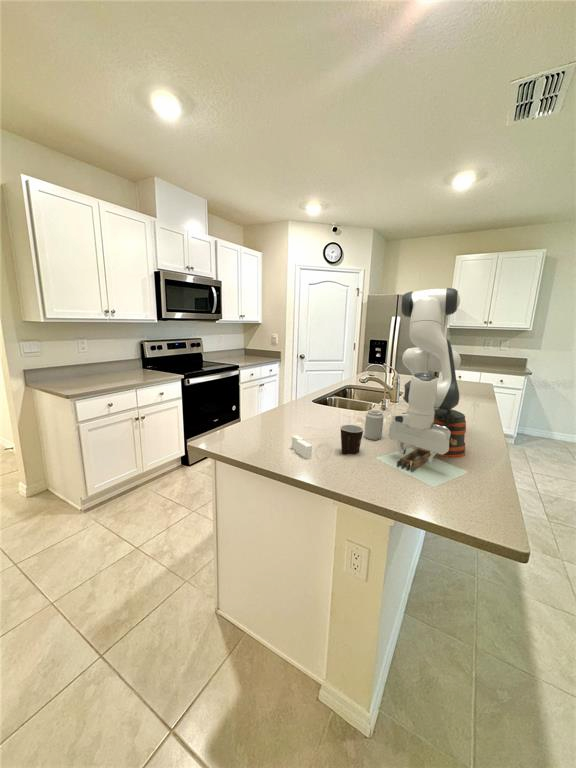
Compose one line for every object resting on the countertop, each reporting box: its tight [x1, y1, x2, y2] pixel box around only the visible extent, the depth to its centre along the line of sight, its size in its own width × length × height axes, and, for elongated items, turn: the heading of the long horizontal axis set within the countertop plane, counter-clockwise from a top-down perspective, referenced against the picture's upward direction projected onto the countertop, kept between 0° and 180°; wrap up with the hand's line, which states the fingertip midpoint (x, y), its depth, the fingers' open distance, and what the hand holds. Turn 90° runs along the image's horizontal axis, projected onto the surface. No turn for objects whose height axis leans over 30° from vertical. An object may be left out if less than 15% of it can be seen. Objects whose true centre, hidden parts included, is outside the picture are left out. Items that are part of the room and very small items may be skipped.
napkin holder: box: [291, 434, 313, 460], centre depth 119 cm, size 15×11×6 cm
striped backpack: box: [426, 408, 467, 459], centre depth 119 cm, size 19×15×20 cm
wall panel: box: [375, 447, 470, 488], centre depth 109 cm, size 20×24×1 cm
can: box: [363, 409, 385, 441], centre depth 135 cm, size 8×8×12 cm
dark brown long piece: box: [397, 448, 432, 473], centre depth 110 cm, size 16×5×2 cm, turn 133°
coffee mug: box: [339, 424, 364, 456], centre depth 117 cm, size 12×9×10 cm
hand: (415, 457), depth 109 cm, fingers open, 8 cm apart
